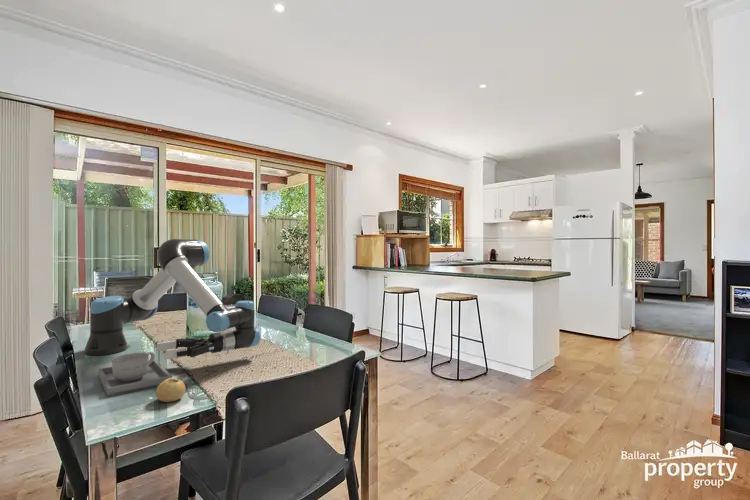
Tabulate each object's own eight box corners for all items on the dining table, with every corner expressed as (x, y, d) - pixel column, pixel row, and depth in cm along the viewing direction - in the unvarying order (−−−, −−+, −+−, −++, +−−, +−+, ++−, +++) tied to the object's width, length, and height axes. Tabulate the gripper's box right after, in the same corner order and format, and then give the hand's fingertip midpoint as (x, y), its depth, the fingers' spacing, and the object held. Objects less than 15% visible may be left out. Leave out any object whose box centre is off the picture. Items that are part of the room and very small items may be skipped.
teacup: (120, 387, 121) (120, 362, 121) (105, 379, 127) (105, 356, 127) (163, 375, 132) (164, 352, 132) (148, 369, 138) (148, 347, 138)
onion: (154, 407, 109) (155, 382, 108) (156, 397, 116) (156, 374, 116) (185, 402, 112) (185, 379, 112) (185, 393, 119) (185, 371, 119)
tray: (98, 375, 132) (98, 368, 132) (155, 366, 145) (155, 359, 145) (107, 396, 115) (107, 388, 115) (172, 383, 127) (172, 376, 127)
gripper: (232, 358, 140) (169, 370, 126) (210, 345, 158) (153, 353, 144) (232, 338, 140) (170, 348, 126) (210, 327, 158) (153, 334, 144)
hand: (161, 351), depth 135 cm, fingers open, 13 cm apart
